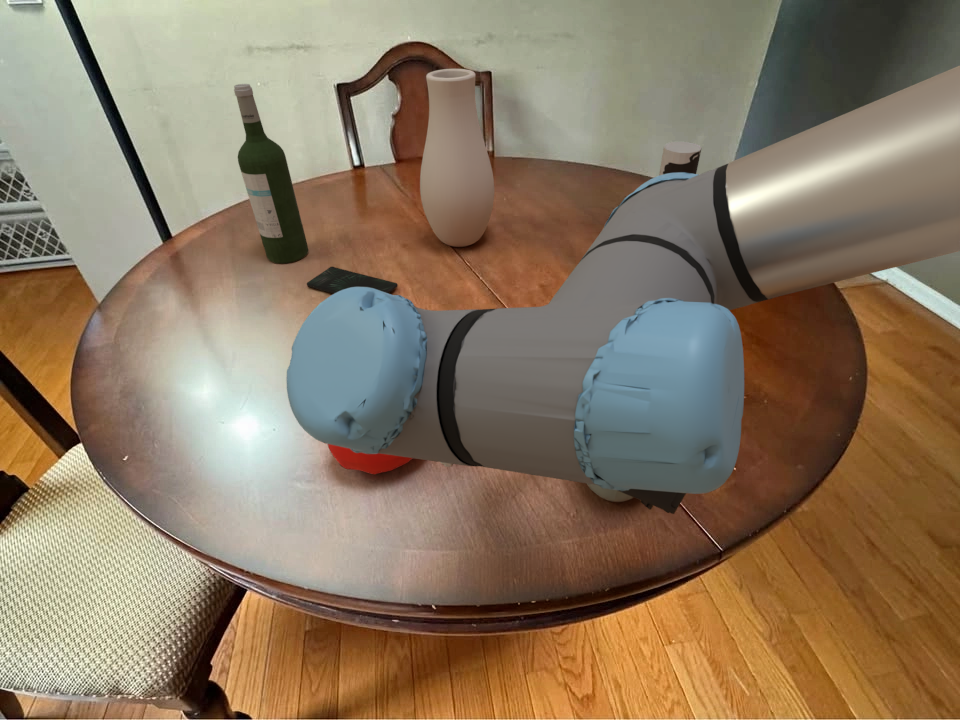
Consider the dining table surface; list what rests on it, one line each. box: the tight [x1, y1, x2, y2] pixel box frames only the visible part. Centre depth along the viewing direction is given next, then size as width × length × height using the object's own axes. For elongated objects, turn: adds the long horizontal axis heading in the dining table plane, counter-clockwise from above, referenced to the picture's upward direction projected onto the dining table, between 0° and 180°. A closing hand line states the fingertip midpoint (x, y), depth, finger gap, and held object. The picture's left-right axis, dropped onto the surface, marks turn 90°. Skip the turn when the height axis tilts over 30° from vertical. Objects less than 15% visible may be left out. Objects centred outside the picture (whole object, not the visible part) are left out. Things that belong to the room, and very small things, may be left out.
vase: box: [419, 68, 495, 248], centre depth 100 cm, size 14×14×30 cm
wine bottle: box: [233, 83, 309, 265], centre depth 98 cm, size 8×8×30 cm
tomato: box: [327, 444, 414, 475], centre depth 64 cm, size 13×12×8 cm
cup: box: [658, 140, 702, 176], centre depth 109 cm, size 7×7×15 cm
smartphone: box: [306, 266, 399, 295], centre depth 96 cm, size 7×1×15 cm
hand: (604, 444), depth 55 cm, fingers open, 13 cm apart
